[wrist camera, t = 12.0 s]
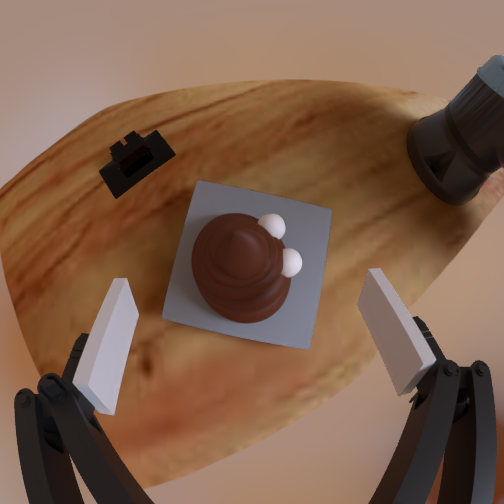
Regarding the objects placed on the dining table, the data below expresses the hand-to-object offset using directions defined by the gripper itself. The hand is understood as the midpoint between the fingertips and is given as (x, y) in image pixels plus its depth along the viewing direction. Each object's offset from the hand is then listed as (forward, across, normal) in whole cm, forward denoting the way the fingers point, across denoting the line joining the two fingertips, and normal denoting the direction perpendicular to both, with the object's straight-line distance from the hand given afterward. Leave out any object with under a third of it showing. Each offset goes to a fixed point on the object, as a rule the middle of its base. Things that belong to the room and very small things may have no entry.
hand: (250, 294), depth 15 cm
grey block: (+13, +1, -8) cm, 15 cm away
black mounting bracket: (+23, -13, +2) cm, 27 cm away
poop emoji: (+10, 0, -6) cm, 11 cm away
